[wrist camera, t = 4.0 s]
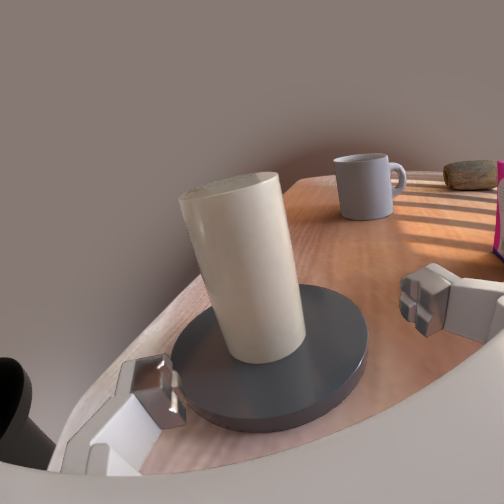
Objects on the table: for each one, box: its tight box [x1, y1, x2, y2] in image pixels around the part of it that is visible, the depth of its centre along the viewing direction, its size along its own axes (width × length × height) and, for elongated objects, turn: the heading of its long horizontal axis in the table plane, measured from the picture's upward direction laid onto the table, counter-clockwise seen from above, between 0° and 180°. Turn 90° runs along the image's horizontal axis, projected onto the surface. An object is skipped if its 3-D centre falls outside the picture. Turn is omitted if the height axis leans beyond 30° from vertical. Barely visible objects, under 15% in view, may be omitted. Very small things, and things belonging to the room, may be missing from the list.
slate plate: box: [171, 284, 369, 433], centre depth 22 cm, size 16×16×2 cm
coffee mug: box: [334, 154, 406, 220], centre depth 47 cm, size 13×10×10 cm
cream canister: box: [179, 172, 306, 364], centre depth 20 cm, size 6×6×12 cm
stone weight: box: [443, 160, 498, 190], centre depth 48 cm, size 15×7×7 cm, turn 73°
